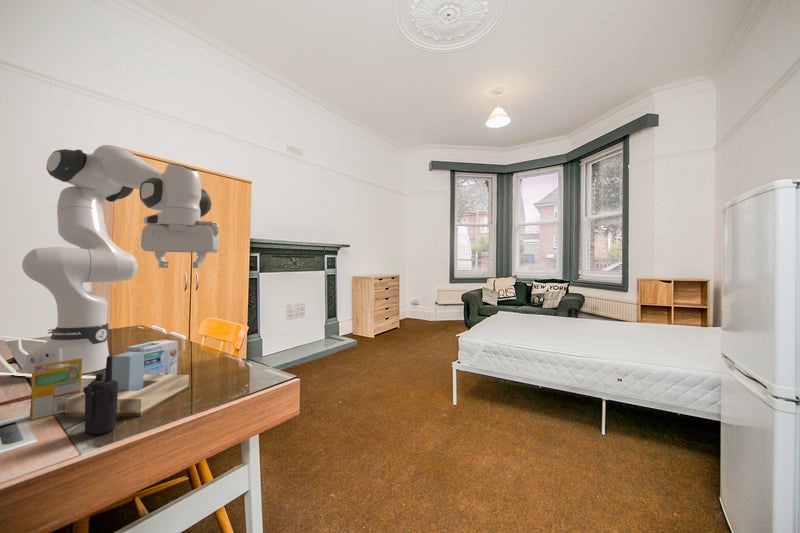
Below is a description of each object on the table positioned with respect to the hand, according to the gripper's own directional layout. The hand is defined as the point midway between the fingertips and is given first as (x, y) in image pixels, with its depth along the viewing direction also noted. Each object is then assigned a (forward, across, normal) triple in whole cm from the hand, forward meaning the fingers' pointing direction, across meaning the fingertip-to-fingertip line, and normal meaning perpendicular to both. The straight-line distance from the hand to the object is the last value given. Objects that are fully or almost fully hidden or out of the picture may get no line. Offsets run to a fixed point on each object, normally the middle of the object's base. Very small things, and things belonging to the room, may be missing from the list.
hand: (180, 267), depth 87 cm
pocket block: (+33, +2, +12) cm, 35 cm away
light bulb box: (+34, +9, -3) cm, 35 cm away
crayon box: (+34, +14, +18) cm, 40 cm away
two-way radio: (+34, -3, +26) cm, 43 cm away
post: (+32, +3, +13) cm, 35 cm away
